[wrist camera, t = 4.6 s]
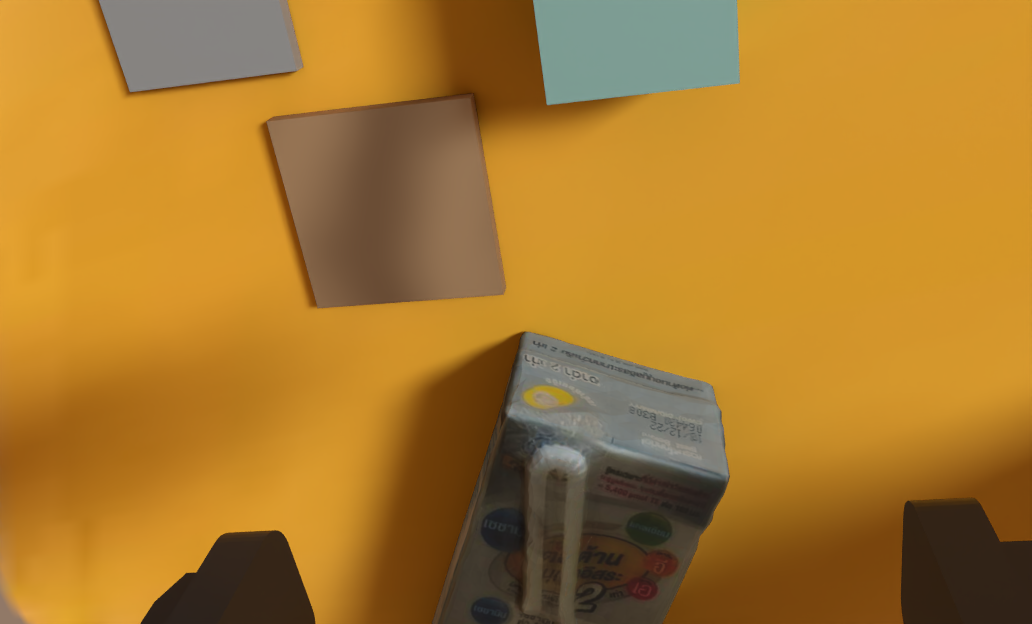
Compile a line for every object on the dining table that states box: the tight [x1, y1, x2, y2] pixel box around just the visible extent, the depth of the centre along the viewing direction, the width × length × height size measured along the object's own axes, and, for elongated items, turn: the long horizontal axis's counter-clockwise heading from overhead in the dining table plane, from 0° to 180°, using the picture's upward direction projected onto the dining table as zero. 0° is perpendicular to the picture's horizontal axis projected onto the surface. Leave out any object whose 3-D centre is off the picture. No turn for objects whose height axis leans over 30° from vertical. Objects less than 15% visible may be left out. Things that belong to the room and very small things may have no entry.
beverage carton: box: [432, 332, 730, 624], centre depth 34 cm, size 8×19×7 cm, turn 165°
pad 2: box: [266, 93, 506, 308], centre depth 30 cm, size 7×7×1 cm
